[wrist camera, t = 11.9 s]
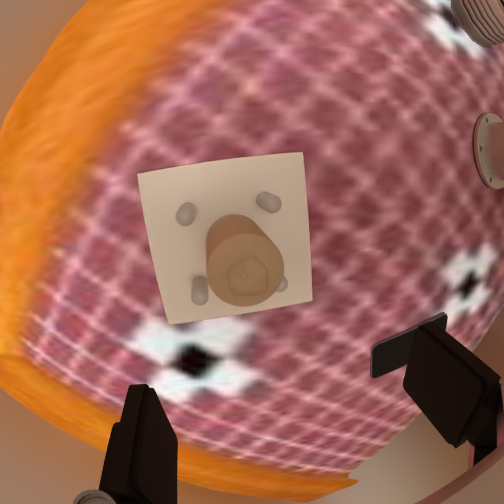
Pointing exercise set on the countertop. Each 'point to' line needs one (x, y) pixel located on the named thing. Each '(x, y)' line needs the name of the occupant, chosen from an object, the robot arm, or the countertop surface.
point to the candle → (242, 261)
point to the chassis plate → (213, 208)
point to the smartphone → (398, 348)
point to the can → (481, 20)
